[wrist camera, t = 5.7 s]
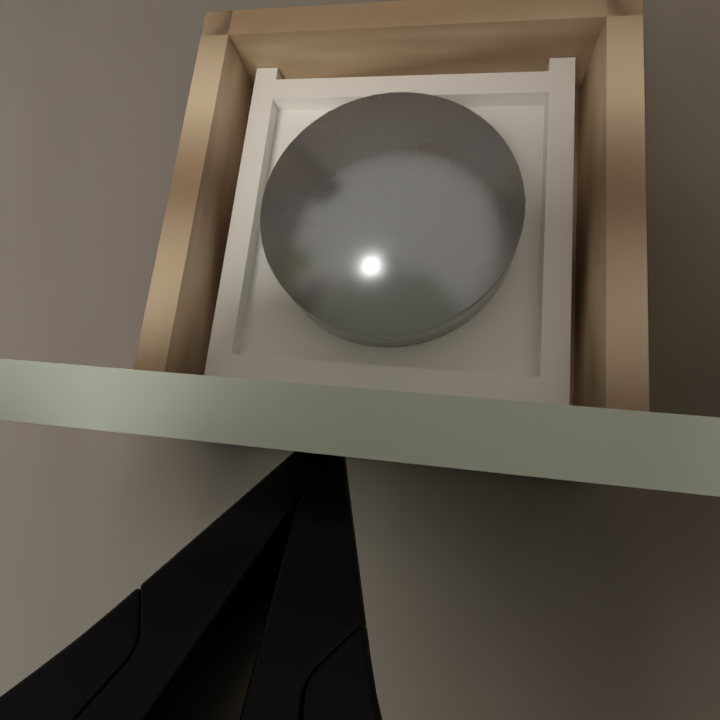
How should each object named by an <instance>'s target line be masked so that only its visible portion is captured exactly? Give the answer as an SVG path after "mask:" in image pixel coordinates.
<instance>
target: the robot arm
mask: <svg viewBox="0 0 720 720" xmlns="http://www.w3.org/2000/svg"><path fill="white" fill-rule="evenodd" d="M0 720H382V716H381V712H380V707H379V703H378V698H377V694H376V687H375V681H374V675H373V669H372V662H371V656H370V648H369V640H368V633H367V628H366V619H365V611H364V603H363V595H362V587H361V579H360V571H359V563H358V555H357V547H356V539H355V531H354V523H353V515H352V507H351V499H350V491H349V483H348V475H347V467H346V459H345V457H344V456H335V455H326V454H316V453H307V452H298V451H294V452H293V453H292V454H291V455H290V456H289V457H288V458H286V459H285V460H284V461H283V462H282V463H281V464H280V465H278V466H277V467H276V468H275V469H274V470H273V471H271V472H270V473H269V474H268V475H267V476H266V477H265V478H263V479H262V480H261V481H260V482H259V483H258V484H257V485H255V486H254V487H253V488H252V489H251V490H250V491H248V492H247V493H246V494H245V495H244V496H243V497H242V498H240V499H239V500H238V501H237V502H236V503H235V504H234V505H232V506H231V507H230V508H229V509H228V510H227V511H225V512H224V513H223V514H222V515H221V516H220V517H219V518H217V519H216V520H215V521H214V522H213V523H212V524H210V525H209V526H208V527H207V528H206V529H205V530H204V531H202V532H201V533H200V534H199V535H198V536H197V537H196V538H194V539H193V540H192V541H191V542H190V543H189V544H187V545H186V546H185V547H184V548H183V549H182V550H181V551H179V552H178V553H177V554H176V555H175V556H174V557H173V558H171V559H170V560H169V561H168V562H167V563H166V564H164V565H163V566H162V567H161V568H160V569H159V570H158V571H156V572H155V573H154V574H153V575H152V576H151V577H150V578H148V579H147V580H146V581H145V582H144V583H143V584H142V585H141V590H140V589H136V590H134V591H133V592H132V593H131V594H130V595H129V596H127V597H126V598H125V599H124V600H123V601H122V602H121V603H119V604H118V605H117V606H116V607H115V608H114V609H112V610H111V611H110V612H109V613H108V614H106V615H105V616H104V617H103V618H102V619H100V620H99V621H98V622H97V623H96V624H94V625H93V626H92V627H91V628H90V629H88V630H87V631H86V632H85V633H84V634H82V635H81V636H80V637H79V638H77V639H76V640H75V641H73V642H72V643H71V644H70V645H68V646H67V647H66V648H64V649H63V650H62V651H61V652H59V653H58V654H57V655H55V656H54V657H53V658H51V659H50V660H49V661H48V662H46V663H45V664H44V665H42V666H41V667H40V668H38V669H37V670H36V671H34V672H33V673H32V674H30V675H29V676H28V677H26V678H25V679H24V680H22V681H21V682H20V683H18V684H17V685H16V686H14V687H13V688H12V689H10V690H9V691H8V692H6V693H5V694H4V695H2V696H1V697H0Z"/></svg>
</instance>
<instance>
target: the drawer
mask: <svg viewBox="0 0 720 720" xmlns="http://www.w3.org/2000/svg"><path fill="white" fill-rule="evenodd" d="M391 92H412V93H423V94H428V95H433V96H438V97H441V98H444V99H447V100H450V101H453V102H456V103H458V104H460V105H462V106H464V107H466V108H468V109H470V110H471V111H473V112H474V113H476V114H478V115H479V116H481V117H482V118H483V119H484V120H485V121H487V122H488V123H489V124H490V125H491V126H492V127H494V129H495V130H496V131H497V132H498V133H499V134H500V135H501V137H502V138H503V139H504V140H505V142H506V143H507V145H508V146H509V148H510V149H511V151H512V153H513V155H514V157H515V159H516V161H517V163H518V166H519V169H520V172H521V176H522V179H523V183H524V191H525V218H524V223H523V229H522V233H521V236H520V239H519V242H518V245H517V248H516V251H515V254H514V257H513V259H512V262H511V265H510V268H509V270H508V272H507V274H506V276H505V278H504V280H503V282H502V284H501V286H500V287H499V289H498V290H497V292H496V293H495V295H494V296H493V298H492V299H491V300H490V301H489V302H488V303H487V304H486V306H485V307H484V308H483V309H482V310H481V311H480V312H479V313H477V314H476V315H475V316H474V317H473V318H472V319H470V320H469V321H468V322H466V323H465V324H463V325H462V326H460V327H459V328H457V329H456V330H454V331H452V332H450V333H448V334H446V335H444V336H442V337H440V338H437V339H434V340H431V341H428V342H425V343H421V344H416V345H411V346H406V347H392V348H387V347H372V346H367V345H361V344H357V343H354V342H351V341H348V340H345V339H342V338H340V337H338V336H336V335H334V334H331V333H329V332H328V331H326V330H325V329H323V328H322V327H320V326H319V325H317V324H316V323H315V322H313V321H312V320H311V319H310V318H309V317H308V316H307V315H306V314H305V313H304V312H303V311H302V310H301V309H300V308H299V306H298V305H297V304H296V303H295V302H294V300H293V299H292V298H291V297H290V296H289V295H288V293H287V292H286V291H285V290H284V289H283V287H282V286H281V285H280V283H279V282H278V280H277V279H276V277H275V275H274V274H273V272H272V270H271V268H270V266H269V263H268V261H267V259H266V256H265V252H264V248H263V245H262V239H261V231H260V212H261V205H262V198H263V195H264V191H265V188H266V184H267V182H268V179H269V177H270V175H271V172H272V170H273V168H274V166H275V165H276V163H277V161H278V160H279V158H280V156H281V155H282V153H283V152H284V151H285V149H286V148H287V147H288V146H289V144H290V143H291V142H292V141H293V140H294V139H295V138H296V137H297V136H298V135H299V134H300V133H301V131H303V130H304V129H305V128H306V127H308V126H309V125H310V124H311V123H312V122H314V121H315V120H317V119H318V118H320V117H321V116H323V115H324V114H326V113H327V112H329V111H331V110H333V109H335V108H337V107H339V106H341V105H343V104H346V103H348V102H351V101H354V100H356V99H360V98H363V97H367V96H371V95H376V94H383V93H391ZM574 114H575V57H568V58H550V59H549V63H548V66H547V70H546V71H536V72H504V73H472V74H439V75H407V76H374V77H342V78H309V79H282V77H281V75H280V72H279V70H278V68H257V71H256V77H255V83H254V88H253V94H252V100H251V106H250V111H249V117H248V123H247V129H246V135H245V140H244V146H243V152H242V158H241V163H240V169H239V175H238V181H237V187H236V192H235V198H234V204H233V210H232V216H231V221H230V227H229V233H228V239H227V244H226V250H225V256H224V262H223V268H222V273H221V279H220V285H219V291H218V297H217V302H216V308H215V314H214V320H213V325H212V331H211V337H210V343H209V349H208V354H207V360H206V366H205V372H204V375H194V374H182V373H169V372H157V371H145V370H133V369H121V368H108V367H96V366H84V365H72V364H59V363H47V362H35V361H23V360H11V359H0V420H8V421H18V422H27V423H36V424H46V425H55V426H64V427H74V428H83V429H92V430H101V431H111V432H120V433H129V434H139V435H148V436H157V437H167V438H176V439H185V440H194V441H204V442H213V443H222V444H232V445H241V446H250V447H260V448H269V449H278V450H288V451H298V452H307V453H316V454H326V455H335V456H344V457H353V458H362V459H372V460H381V461H390V462H400V463H409V464H418V465H428V466H437V467H446V468H456V469H465V470H474V471H484V472H493V473H502V474H512V475H521V476H530V477H540V478H549V479H558V480H568V481H577V482H586V483H596V484H605V485H614V486H624V487H633V488H642V489H652V490H661V491H671V492H680V493H689V494H699V495H708V496H717V497H720V418H719V417H707V416H695V415H683V414H671V413H658V412H646V411H634V410H622V409H609V408H597V407H585V406H573V405H569V403H570V346H571V288H572V230H573V172H574Z"/></svg>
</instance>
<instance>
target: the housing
mask: <svg viewBox="0 0 720 720" xmlns="http://www.w3.org/2000/svg"><path fill="white" fill-rule="evenodd" d="M568 57H575V114H574V172H573V230H572V288H571V346H570V403H569V405H573V406H585V407H597V408H609V409H622V410H634V411H646V412H650V406H649V345H648V284H647V222H646V161H645V100H644V39H643V0H405V1H388V2H371V3H353V4H336V5H318V6H301V7H284V8H266V9H249V10H232V11H214V12H206V15H205V19H204V24H203V29H202V34H201V39H200V44H199V49H198V54H197V59H196V64H195V69H194V74H193V78H192V83H191V88H190V93H189V98H188V103H187V108H186V113H185V118H184V123H183V128H182V133H181V137H180V142H179V147H178V152H177V157H176V162H175V167H174V172H173V177H172V182H171V187H170V191H169V196H168V201H167V206H166V211H165V216H164V221H163V226H162V231H161V236H160V241H159V246H158V250H157V255H156V260H155V265H154V270H153V275H152V280H151V285H150V290H149V295H148V300H147V305H146V309H145V314H144V319H143V324H142V329H141V334H140V339H139V344H138V349H137V354H136V359H135V364H134V368H133V370H145V371H157V372H169V373H182V374H194V375H204V372H205V366H206V360H207V354H208V349H209V343H210V337H211V331H212V325H213V320H214V314H215V308H216V302H217V297H218V291H219V285H220V279H221V273H222V268H223V262H224V256H225V250H226V244H227V239H228V233H229V227H230V221H231V216H232V210H233V204H234V198H235V192H236V187H237V181H238V175H239V169H240V163H241V158H242V152H243V146H244V140H245V135H246V129H247V123H248V117H249V111H250V106H251V100H252V94H253V88H254V83H255V77H256V71H257V68H278V70H279V72H280V75H281V77H282V79H309V78H342V77H374V76H407V75H439V74H472V73H504V72H536V71H546V70H547V66H548V63H549V59H550V58H568Z"/></svg>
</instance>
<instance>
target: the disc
mask: <svg viewBox="0 0 720 720" xmlns="http://www.w3.org/2000/svg"><path fill="white" fill-rule="evenodd" d="M524 218H525V191H524V183H523V179H522V176H521V172H520V169H519V166H518V163H517V161H516V159H515V157H514V155H513V153H512V151H511V149H510V148H509V146H508V145H507V143H506V142H505V140H504V139H503V138H502V137H501V135H500V134H499V133H498V132H497V131H496V130H495V129H494V127H492V126H491V125H490V124H489V123H488V122H487V121H485V120H484V119H483V118H482V117H481V116H479V115H478V114H476V113H474V112H473V111H471V110H470V109H468V108H466V107H464V106H462V105H460V104H458V103H456V102H453V101H450V100H447V99H444V98H441V97H438V96H433V95H428V94H423V93H412V92H391V93H383V94H376V95H371V96H367V97H363V98H360V99H356V100H354V101H351V102H348V103H346V104H343V105H341V106H339V107H337V108H335V109H333V110H331V111H329V112H327V113H326V114H324V115H323V116H321V117H320V118H318V119H317V120H315V121H314V122H312V123H311V124H310V125H309V126H308V127H306V128H305V129H304V130H303V131H301V133H300V134H299V135H298V136H297V137H296V138H295V139H294V140H293V141H292V142H291V143H290V144H289V146H288V147H287V148H286V149H285V151H284V152H283V153H282V155H281V156H280V158H279V160H278V161H277V163H276V165H275V166H274V168H273V170H272V172H271V175H270V177H269V179H268V182H267V184H266V188H265V191H264V195H263V198H262V205H261V212H260V231H261V239H262V245H263V248H264V252H265V256H266V259H267V261H268V263H269V266H270V268H271V270H272V272H273V274H274V275H275V277H276V279H277V280H278V282H279V283H280V285H281V286H282V287H283V289H284V290H285V291H286V292H287V293H288V295H289V296H290V297H291V298H292V299H293V300H294V302H295V303H296V304H297V305H298V306H299V308H300V309H301V310H302V311H303V312H304V313H305V314H306V315H307V316H308V317H309V318H310V319H311V320H312V321H313V322H315V323H316V324H317V325H319V326H320V327H322V328H323V329H325V330H326V331H328V332H329V333H331V334H334V335H336V336H338V337H340V338H342V339H345V340H348V341H351V342H354V343H357V344H361V345H367V346H372V347H387V348H392V347H406V346H411V345H416V344H421V343H425V342H428V341H431V340H434V339H437V338H440V337H442V336H444V335H446V334H448V333H450V332H452V331H454V330H456V329H457V328H459V327H460V326H462V325H463V324H465V323H466V322H468V321H469V320H470V319H472V318H473V317H474V316H475V315H476V314H477V313H479V312H480V311H481V310H482V309H483V308H484V307H485V306H486V304H487V303H488V302H489V301H490V300H491V299H492V298H493V296H494V295H495V293H496V292H497V290H498V289H499V287H500V286H501V284H502V282H503V280H504V278H505V276H506V274H507V272H508V270H509V268H510V265H511V262H512V259H513V257H514V254H515V251H516V248H517V245H518V242H519V239H520V236H521V233H522V229H523V223H524Z"/></svg>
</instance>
